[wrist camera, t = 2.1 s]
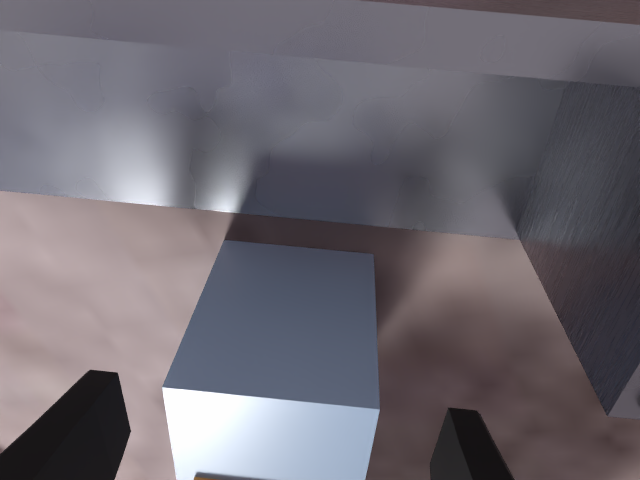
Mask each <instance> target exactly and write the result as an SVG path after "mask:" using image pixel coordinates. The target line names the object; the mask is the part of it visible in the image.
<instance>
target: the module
mask: <svg viewBox="0 0 640 480" xmlns="http://www.w3.org/2000/svg"><path fill="white" fill-rule="evenodd" d="M162 390H163V396H164V402H165V409H166V415H167V422H168V428H169V434H170V441H171V447H172V453H173V460H174V466H175V473H176V479H177V480H365V478H366V473H367V469H368V464H369V459H370V454H371V449H372V445H373V440H374V435H375V430H376V426H377V421H378V416H379V411H380V400H379V375H378V349H377V324H376V298H375V272H374V254H368V253H357V252H347V251H336V250H326V249H315V248H305V247H294V246H284V245H273V244H263V243H252V242H242V241H231V240H224V241H223V244H222V246H221V249H220V251H219V253H218V256H217V258H216V260H215V263H214V265H213V268H212V270H211V272H210V275H209V277H208V280H207V282H206V284H205V287H204V289H203V291H202V294H201V296H200V299H199V301H198V303H197V306H196V308H195V310H194V313H193V315H192V318H191V320H190V322H189V325H188V327H187V329H186V332H185V334H184V337H183V339H182V341H181V344H180V346H179V348H178V351H177V353H176V356H175V358H174V360H173V363H172V365H171V367H170V370H169V372H168V375H167V377H166V379H165V382H164V384H163V386H162Z"/></svg>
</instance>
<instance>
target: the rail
mask: <svg viewBox="0 0 640 480" xmlns="http://www.w3.org/2000/svg"><path fill="white" fill-rule="evenodd" d="M0 191H10V192H21V193H32V194H42V195H53V196H63V197H74V198H84V199H95V200H105V201H116V202H126V203H137V204H148V205H158V206H169V207H179V208H190V209H200V210H211V211H221V212H232V213H242V214H253V215H264V216H274V217H285V218H295V219H306V220H316V221H327V222H337V223H348V224H358V225H369V226H379V227H390V228H401V229H411V230H422V231H432V232H443V233H453V234H464V235H474V236H485V237H495V238H506V239H517V240H520V241H521V243H522V245H523V247H524V249H525V251H526V253H527V255H528V257H529V259H530V261H531V263H532V265H533V267H534V269H535V271H536V273H537V275H538V277H539V279H540V281H541V283H542V285H543V287H544V290H545V292H546V294H547V296H548V298H549V300H550V302H551V304H552V306H553V308H554V310H555V312H556V314H557V316H558V318H559V320H560V322H561V324H562V326H563V328H564V330H565V332H566V334H567V336H568V338H569V340H570V342H571V344H572V346H573V348H574V350H575V352H576V354H577V356H578V358H579V360H580V362H581V364H582V366H583V368H584V370H585V372H586V374H587V376H588V378H589V380H590V382H591V384H592V386H593V388H594V390H595V392H596V394H597V396H598V398H599V400H600V402H601V404H602V406H603V408H604V411H605V413H606V415H607V416H609V417H618V418H628V419H638V420H640V0H0Z"/></svg>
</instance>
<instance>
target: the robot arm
mask: <svg viewBox="0 0 640 480" xmlns="http://www.w3.org/2000/svg"><path fill="white" fill-rule="evenodd" d="M130 432H131V430H130V425H129V421H128V416H127V412H126V407H125V403H124V398H123V394H122V389H121V385H120V381H119V376H118V373H116V372H106V371H97V370H89V371H88V372H87V373H86V374H85V375H84V376H82V377H81V378H80V379H79V380H78V381H77V382H76V383H75V384H74V385H73V386H72V387H71V388H70V389H69V390H68V391H67V392H66V393H65V394H64V395H63V396H62V397H61V398H60V399H59V400H58V401H57V402H56V403H55V404H54V405H52V406H51V407H50V408H49V409H48V410H47V411H46V412H45V413H44V414H43V415H42V416H41V417H40V418H39V419H38V420H37V421H36V422H35V423H34V424H32V425H31V426H30V427H29V428H28V429H27V430H26V431H25V432H24V433H23V434H22V435H21V436H19V437H18V438H17V439H16V440H15V441H14V442H13V443H12V444H11V445H10V446H8V447H7V448H6V449H5V450H4V451H3V452H2V453H1V454H0V480H114V479H115V477H116V474H117V471H118V468H119V465H120V462H121V460H122V457H123V454H124V451H125V448H126V445H127V442H128V439H129V436H130ZM430 474H431V480H515V479H514V478H513V476H512V474H511V472H510V470H509V469H508V467H507V465H506V463H505V461H504V459H503V458H502V456H501V454H500V452H499V450H498V448H497V446H496V444H495V443H494V441H493V439H492V437H491V435H490V433H489V431H488V429H487V427H486V425H485V423H484V421H483V419H482V417H481V415H480V414H479V413H478V411H475V410H466V409H456V408H448V410H447V413H446V416H445V419H444V423H443V426H442V429H441V432H440V435H439V438H438V441H437V444H436V447H435V450H434V453H433V456H432V459H431V462H430Z"/></svg>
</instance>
